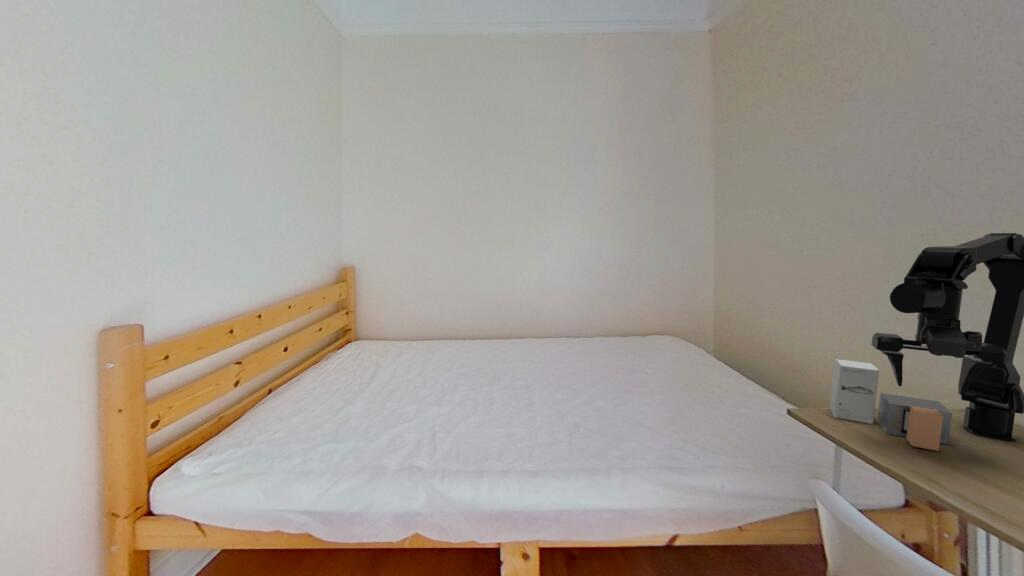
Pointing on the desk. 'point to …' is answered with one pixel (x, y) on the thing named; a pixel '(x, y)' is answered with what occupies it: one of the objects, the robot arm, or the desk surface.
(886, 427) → the block
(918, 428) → the cover
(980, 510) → the desk surface
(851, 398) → the supplement box
